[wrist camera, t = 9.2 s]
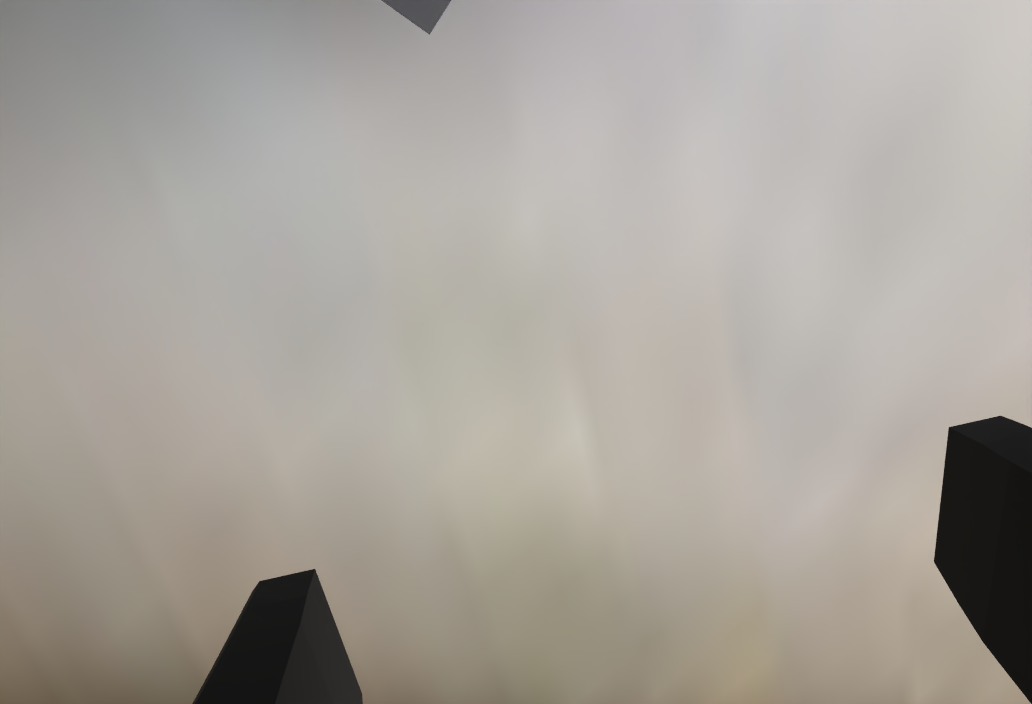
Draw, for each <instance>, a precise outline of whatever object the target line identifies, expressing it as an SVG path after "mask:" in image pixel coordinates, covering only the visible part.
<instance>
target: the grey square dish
mask: <svg viewBox="0 0 1032 704" xmlns="http://www.w3.org/2000/svg"><path fill="white" fill-rule="evenodd" d="M382 1H383V2H384V3H386V4H387V5H389V6H390V7H392V8H393V9H394V10H396V11H397V12H399V13H400V14H401V15H403V16H404V17H406V18H407V19H408V20H410V21H411V22H413V23H414V24H415V25H417V26H418V27H420V28H421V29H422V30H424V31H425V32H427V33H428V34H430V33H431V31H432V30H433V28H434V27H435V25H436V23H437V22H438V20H439V19H440V17H441V16H442V14H443V12H444V11H445V9H446V8H447V6H448V4H449V3H450V1H451V0H382Z"/></svg>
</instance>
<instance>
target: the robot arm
mask: <svg viewBox="0 0 1032 704" xmlns="http://www.w3.org/2000/svg"><path fill="white" fill-rule="evenodd" d="M934 563H935V564H936V566H937V568H938V569H939V571H940V573H941V574H942V576H943V578H944V580H945V581H946V583H947V585H948V586H949V588H950V590H951V591H952V593H953V595H954V597H955V598H956V600H957V602H958V603H959V605H960V607H961V608H962V610H963V611H964V613H965V614H966V616H967V618H968V619H969V621H970V622H971V624H972V626H973V627H974V629H975V630H976V632H977V633H978V635H979V637H980V638H981V640H982V641H983V643H984V644H985V645H986V646H987V648H988V649H989V650H990V652H991V653H992V654H993V656H994V657H995V658H996V659H997V661H998V662H999V663H1000V665H1001V666H1002V667H1003V668H1004V670H1005V671H1006V672H1007V673H1008V675H1009V676H1010V677H1011V678H1012V680H1013V681H1014V682H1015V684H1016V685H1017V686H1018V687H1019V689H1020V690H1021V691H1022V692H1023V694H1024V695H1025V696H1026V697H1027V699H1028V700H1029V701H1030V703H1031V704H1032V428H1031V427H1028V426H1026V425H1023V424H1021V423H1018V422H1016V421H1013V420H1011V419H1008V418H1005V417H1003V416H998V417H993V418H989V419H984V420H980V421H975V422H971V423H966V424H962V425H957V426H953V427H949V431H948V440H947V449H946V458H945V467H944V476H943V485H942V494H941V503H940V512H939V521H938V530H937V539H936V548H935V557H934ZM193 704H363V702H362V693H361V690H360V687H359V685H358V682H357V679H356V677H355V674H354V671H353V669H352V666H351V663H350V661H349V658H348V655H347V653H346V650H345V647H344V645H343V642H342V639H341V637H340V634H339V631H338V629H337V626H336V623H335V621H334V618H333V616H332V613H331V610H330V608H329V605H328V602H327V600H326V597H325V594H324V592H323V589H322V586H321V584H320V581H319V578H318V576H317V573H316V570H315V569H313V570H308V571H304V572H299V573H295V574H290V575H286V576H281V577H277V578H272V579H268V580H263V581H259V583H258V584H257V586H256V587H255V588H254V590H253V591H252V593H251V595H250V597H249V599H248V601H247V603H246V604H245V606H244V608H243V610H242V612H241V614H240V616H239V618H238V620H237V622H236V624H235V626H234V627H233V629H232V631H231V633H230V635H229V637H228V639H227V641H226V643H225V645H224V647H223V648H222V650H221V652H220V654H219V656H218V658H217V660H216V662H215V663H214V665H213V667H212V669H211V671H210V673H209V674H208V676H207V678H206V680H205V682H204V684H203V685H202V687H201V689H200V691H199V693H198V695H197V696H196V698H195V700H194V702H193Z"/></svg>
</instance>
